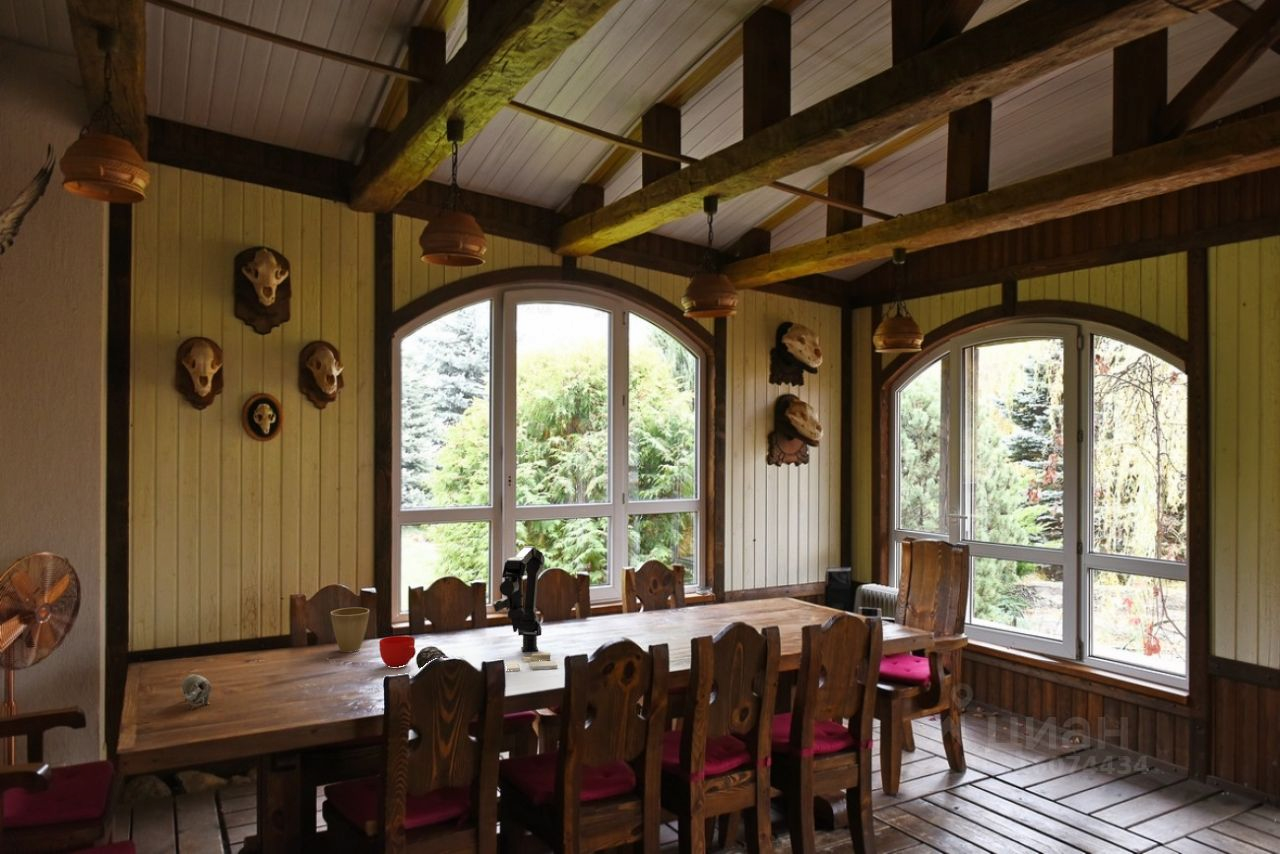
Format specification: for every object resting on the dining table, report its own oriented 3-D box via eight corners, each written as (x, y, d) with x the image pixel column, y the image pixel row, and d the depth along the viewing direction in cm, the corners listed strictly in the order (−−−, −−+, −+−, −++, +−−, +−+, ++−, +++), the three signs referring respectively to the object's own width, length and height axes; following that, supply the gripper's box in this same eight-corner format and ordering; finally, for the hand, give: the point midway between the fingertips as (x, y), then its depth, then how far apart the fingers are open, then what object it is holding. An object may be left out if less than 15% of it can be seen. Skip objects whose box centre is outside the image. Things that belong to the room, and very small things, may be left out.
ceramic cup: (399, 674, 301) (400, 647, 301) (371, 667, 311) (372, 640, 312) (428, 667, 311) (428, 640, 312) (400, 660, 322) (400, 634, 322)
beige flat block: (522, 659, 324) (522, 653, 324) (549, 658, 326) (549, 652, 326) (523, 663, 319) (523, 656, 319) (550, 661, 321) (550, 655, 321)
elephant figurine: (208, 687, 276) (207, 657, 268) (214, 720, 267) (213, 690, 259) (181, 693, 271) (180, 662, 264) (186, 726, 262) (185, 696, 255)
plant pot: (328, 648, 340) (329, 609, 340) (366, 644, 346) (367, 606, 346) (331, 656, 326) (332, 616, 327) (371, 652, 333) (371, 613, 333)
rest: (529, 665, 315) (529, 661, 315) (555, 663, 317) (555, 660, 317) (530, 669, 308) (530, 666, 308) (557, 668, 310) (557, 665, 310)
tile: (499, 663, 313) (501, 668, 306) (518, 662, 315) (520, 667, 307) (499, 667, 313) (501, 673, 306) (518, 666, 315) (520, 672, 307)
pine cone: (437, 683, 290) (437, 654, 291) (410, 673, 303) (410, 646, 303) (462, 677, 298) (462, 649, 298) (435, 668, 310) (435, 641, 310)
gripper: (493, 587, 327) (493, 627, 327) (494, 596, 309) (494, 638, 308) (521, 586, 329) (521, 626, 329) (524, 595, 311) (524, 637, 311)
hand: (514, 631), depth 319 cm, fingers closed
